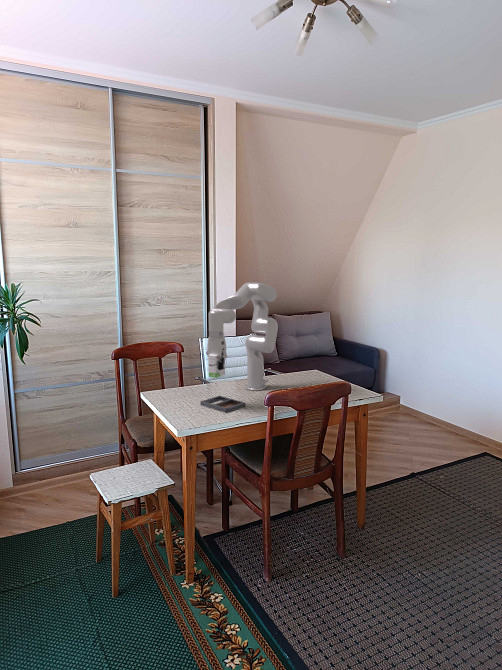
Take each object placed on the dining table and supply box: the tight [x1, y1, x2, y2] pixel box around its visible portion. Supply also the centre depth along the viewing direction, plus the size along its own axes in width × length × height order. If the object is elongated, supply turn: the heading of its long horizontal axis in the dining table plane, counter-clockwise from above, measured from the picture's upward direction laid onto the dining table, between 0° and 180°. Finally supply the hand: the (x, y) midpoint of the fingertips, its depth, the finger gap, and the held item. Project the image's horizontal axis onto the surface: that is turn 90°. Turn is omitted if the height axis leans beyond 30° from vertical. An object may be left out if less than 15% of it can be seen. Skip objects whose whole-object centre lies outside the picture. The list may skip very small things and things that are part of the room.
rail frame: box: [200, 395, 246, 414], centre depth 243 cm, size 14×19×2 cm
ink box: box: [207, 354, 226, 379], centre depth 243 cm, size 9×5×12 cm, turn 148°
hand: (216, 368), depth 244 cm, fingers closed on ink box, 5 cm apart
